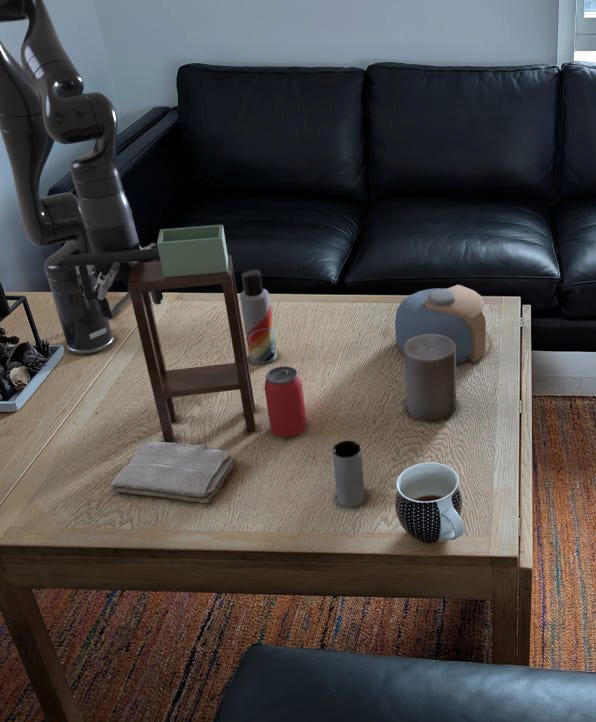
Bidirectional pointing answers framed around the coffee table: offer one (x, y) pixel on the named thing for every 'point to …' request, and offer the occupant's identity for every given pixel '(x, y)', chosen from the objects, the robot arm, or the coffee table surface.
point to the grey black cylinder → (348, 473)
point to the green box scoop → (171, 252)
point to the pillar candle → (430, 376)
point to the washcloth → (175, 471)
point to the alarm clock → (445, 319)
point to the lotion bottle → (257, 318)
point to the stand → (194, 378)
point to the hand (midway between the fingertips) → (133, 310)
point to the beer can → (285, 402)
